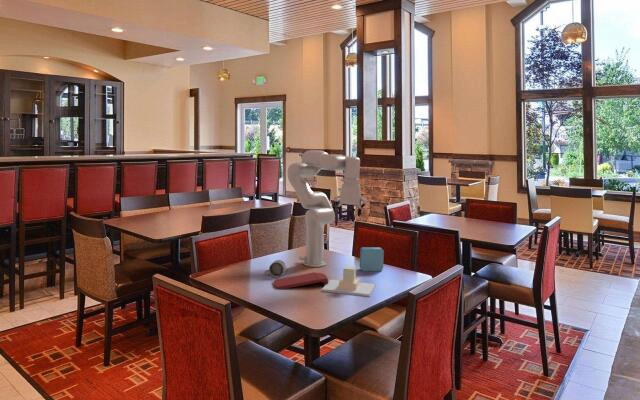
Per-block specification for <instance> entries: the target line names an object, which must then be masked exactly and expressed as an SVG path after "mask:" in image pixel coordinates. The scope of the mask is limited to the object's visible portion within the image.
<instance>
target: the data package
mask: <svg viewBox="0 0 640 400" xmlns="http://www.w3.org/2000/svg"><path fill="white" fill-rule="evenodd" d="M384 254H385V251H384V249H382V247H377V246H376V247H366V246H365V247H364V246H363V247H361V248H360V250H359V268H360V270H361V271H362V272H382V271H383V270H384V259H385V258H384V257H385V255H384Z"/></svg>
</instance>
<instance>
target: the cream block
mask: <svg viewBox="0 0 640 400" xmlns="http://www.w3.org/2000/svg"><path fill="white" fill-rule="evenodd" d="M356 277H357V266H351V265H350V266H349V265H345V266H344V267H343V269H342V278H343V281H345V282H354V281H355V280H356V279H357V278H356Z"/></svg>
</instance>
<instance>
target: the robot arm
mask: <svg viewBox="0 0 640 400" xmlns="http://www.w3.org/2000/svg"><path fill="white" fill-rule="evenodd" d="M301 158H302V161H303V162H294V163H291V164H290V165H288V167H287V171H286V172H287V173H286V174H287V179H288V182H289V183H290V185H291V187H292V188H293V189H294V191H295V194H296V196H297V198H298V200H299V202H300V204H301V206H302V208H303V209H306V212H305V214H304V220H305V225H306V226H305V227H306V244H305V245H306V249H305V254H306V255H299V256H298V258H299V260H300V261H303V262H302V263H303V265H304V266H306V267H308V268H309V267H310V268H318V267H319V268H321V267H324V266H326V265H327V264H326V261H325V260H324V246H325V245H324V241H325V235H324V230H323V228H322V225H323V226H325V225H329V224H333V223H334V222H335V220H336V219H335V218H336V214H335V210H334V208H333V206H332V205H331V203H330V200H329V198H328V196H327V195H326V194H325V193H324V192H322V191H314V190H312V189H311V187H310V185H309V183H308V182H307V181H306V180H305V179H303V178H313V177H315V176H317V175H318V173H319V172H320V171H321V170H326V171H344V173H343V174H344V175H343V176H344V177H343V178H341V180H340V182H343V183H341V187H340V192H339V193H340V195H337V196H334V197H333V200H334V203H335V205H336V206H337V207H338V208H337V209H338V211H337V213H338V215H339V216H341V215H342V214H343V205H350V206H351V205H353V206H357V217H360V216H361V215H362V209H363V208H364V207H365V206H366V205H367V203H368V199H366V198H364V196H362V191H361V189H362V188H361V184H360V169H361V168H360V167H361V159H360V158H359V157H357V156H349V155H330V154H329V153H328V152H325V151H323V150H321V149H320V150H317V149H314V150H313V149H310V150H306V151H305V152H304V153H303V154H302V157H301ZM338 199H339V200H338ZM361 201H363V203H362V204H361Z"/></svg>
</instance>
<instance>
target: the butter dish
mask: <svg viewBox="0 0 640 400" xmlns="http://www.w3.org/2000/svg"><path fill="white" fill-rule="evenodd" d="M374 289H376V284H374V283H366V282H360V278H356V280H355V281H354V282H345V281H343V277H342V278H341V279H340V280H338V279H329V280H328V284H326V285H325V286H324V285H323V287H322V288H321V292H325V293H334V294H335V293H337V294H343V295H353V296H360V297H370V296H372V294H373V292H374Z"/></svg>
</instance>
